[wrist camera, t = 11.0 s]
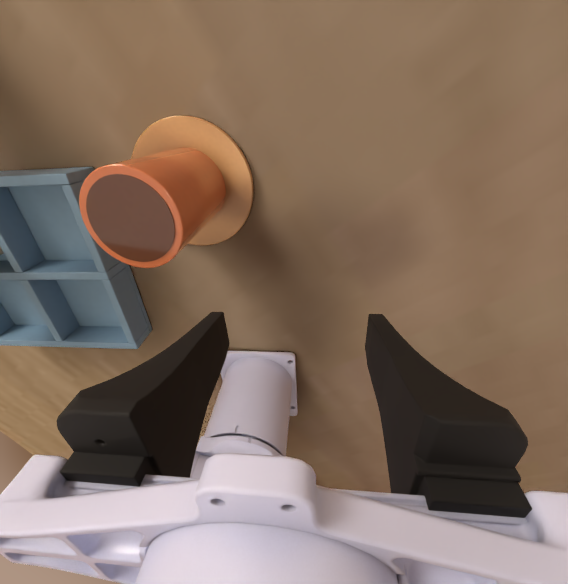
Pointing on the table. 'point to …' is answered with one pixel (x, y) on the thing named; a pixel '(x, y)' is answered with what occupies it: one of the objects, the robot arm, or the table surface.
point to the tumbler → (151, 204)
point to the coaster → (223, 154)
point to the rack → (60, 269)
